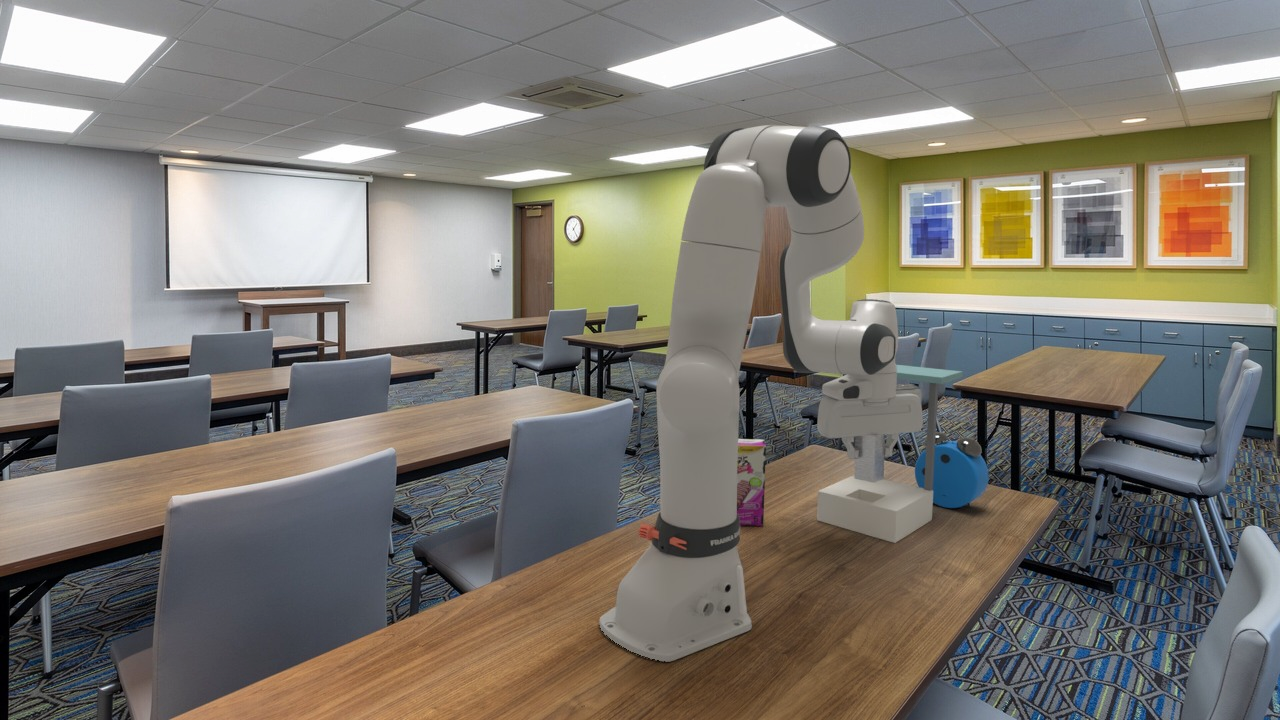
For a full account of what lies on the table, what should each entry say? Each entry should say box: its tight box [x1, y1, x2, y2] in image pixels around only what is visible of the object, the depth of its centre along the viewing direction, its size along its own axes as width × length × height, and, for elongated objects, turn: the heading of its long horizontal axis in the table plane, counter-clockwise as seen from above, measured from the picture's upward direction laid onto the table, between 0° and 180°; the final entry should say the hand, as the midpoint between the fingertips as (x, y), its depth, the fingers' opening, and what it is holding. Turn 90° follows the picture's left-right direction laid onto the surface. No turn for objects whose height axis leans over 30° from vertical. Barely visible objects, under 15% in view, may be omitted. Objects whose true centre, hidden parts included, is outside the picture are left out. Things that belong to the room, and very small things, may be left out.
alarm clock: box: [914, 431, 990, 509], centre depth 142 cm, size 13×6×15 cm, turn 41°
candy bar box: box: [737, 438, 767, 527], centre depth 134 cm, size 11×5×16 cm, turn 84°
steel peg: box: [853, 434, 886, 483], centre depth 130 cm, size 4×4×9 cm
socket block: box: [816, 364, 964, 544], centre depth 135 cm, size 22×20×29 cm
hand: (869, 457), depth 130 cm, fingers closed on steel peg, 6 cm apart
